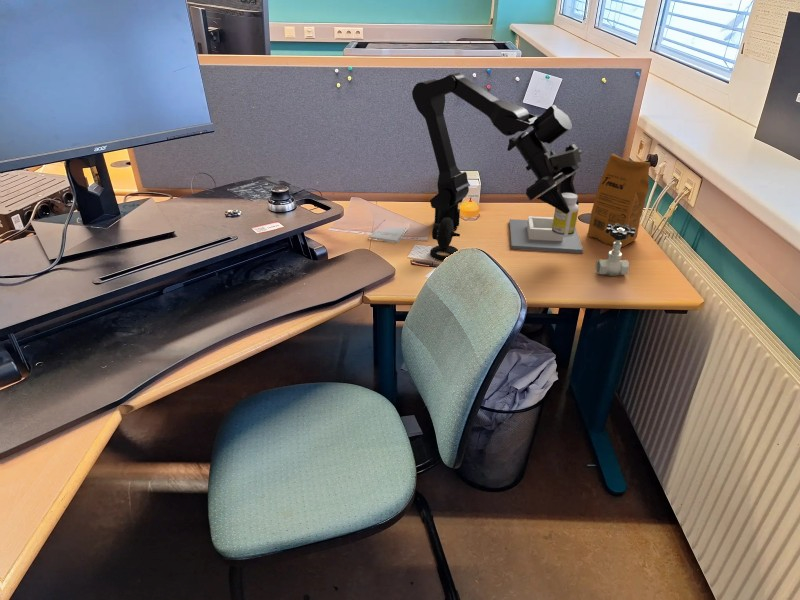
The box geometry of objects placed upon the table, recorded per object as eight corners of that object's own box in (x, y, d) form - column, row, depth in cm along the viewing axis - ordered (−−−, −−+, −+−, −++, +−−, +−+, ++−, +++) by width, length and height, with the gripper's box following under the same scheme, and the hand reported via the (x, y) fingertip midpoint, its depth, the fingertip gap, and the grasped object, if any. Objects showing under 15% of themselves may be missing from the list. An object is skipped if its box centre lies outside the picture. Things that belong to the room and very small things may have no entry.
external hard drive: (411, 228, 156) (397, 245, 146) (383, 224, 158) (368, 241, 148) (411, 222, 155) (397, 240, 145) (383, 219, 157) (368, 236, 147)
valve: (592, 268, 133) (602, 222, 127) (620, 268, 133) (630, 222, 127) (600, 281, 128) (610, 234, 122) (629, 281, 127) (640, 234, 121)
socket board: (511, 249, 142) (512, 234, 140) (509, 222, 158) (510, 209, 156) (582, 253, 140) (585, 238, 138) (573, 225, 156) (575, 212, 154)
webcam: (435, 246, 144) (436, 211, 139) (462, 251, 141) (465, 215, 136) (425, 259, 138) (426, 222, 132) (454, 264, 135) (456, 226, 130)
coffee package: (601, 226, 155) (617, 148, 144) (641, 240, 147) (661, 159, 136) (580, 235, 150) (594, 155, 139) (620, 250, 142) (639, 167, 130)
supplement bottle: (570, 229, 137) (578, 191, 132) (576, 238, 133) (583, 199, 127) (549, 228, 137) (555, 191, 132) (553, 237, 133) (560, 199, 128)
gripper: (546, 143, 118) (586, 203, 119) (578, 126, 131) (614, 181, 131) (509, 171, 126) (546, 227, 127) (542, 153, 139) (576, 204, 140)
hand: (572, 209), depth 131 cm, fingers closed on supplement bottle, 5 cm apart
